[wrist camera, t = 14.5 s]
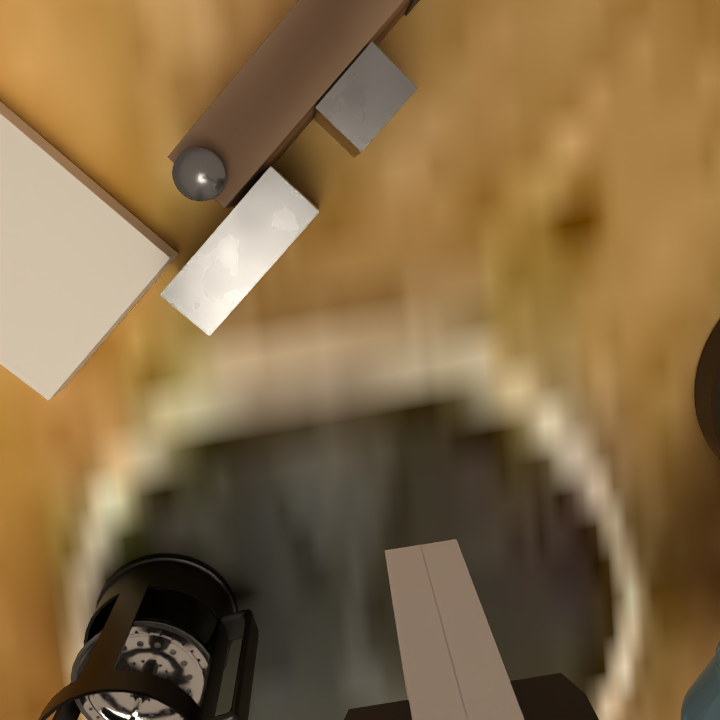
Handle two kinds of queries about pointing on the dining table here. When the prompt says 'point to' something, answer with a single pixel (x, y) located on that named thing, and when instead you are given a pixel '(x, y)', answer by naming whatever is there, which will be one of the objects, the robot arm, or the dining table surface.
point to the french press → (158, 650)
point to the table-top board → (63, 260)
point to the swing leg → (286, 85)
